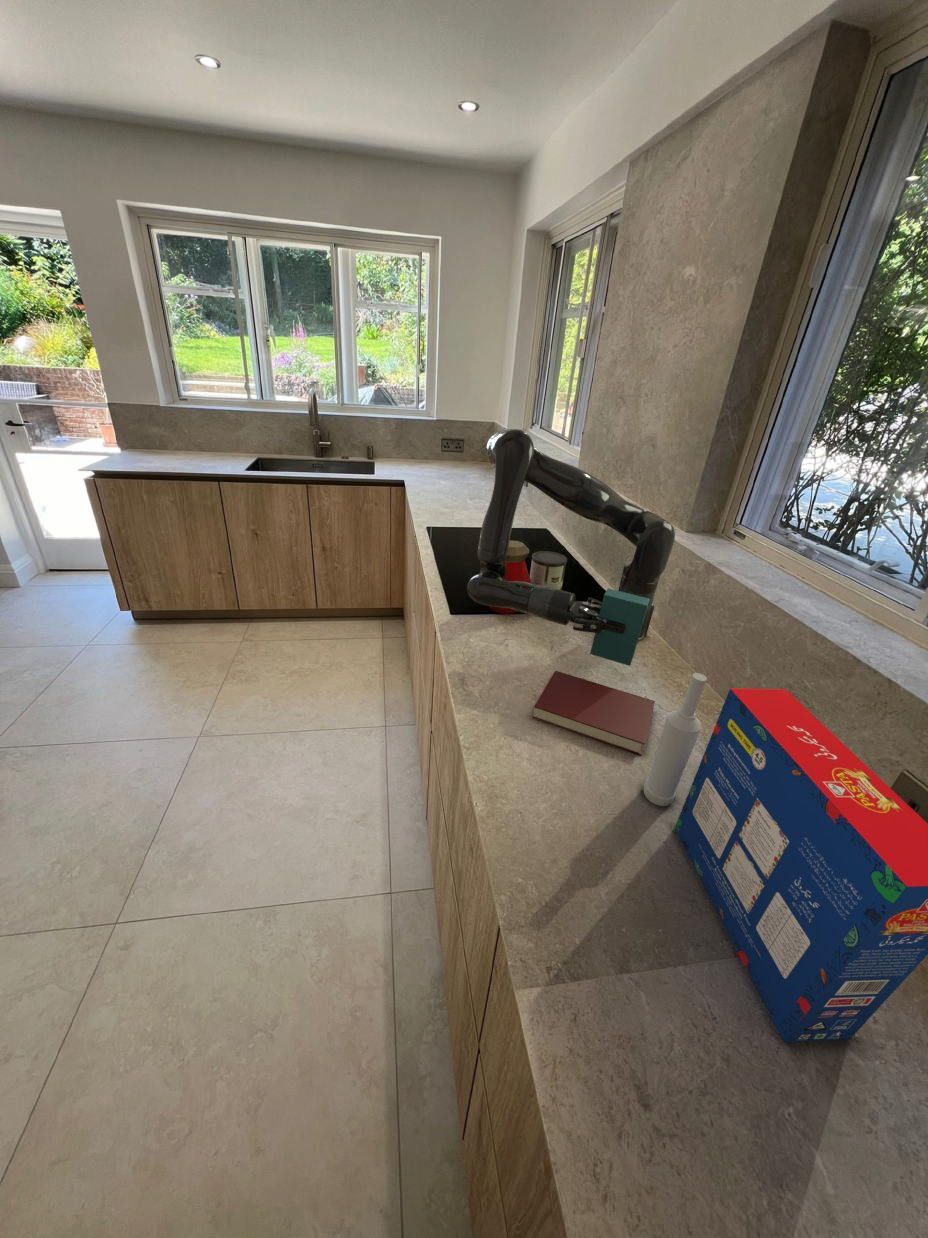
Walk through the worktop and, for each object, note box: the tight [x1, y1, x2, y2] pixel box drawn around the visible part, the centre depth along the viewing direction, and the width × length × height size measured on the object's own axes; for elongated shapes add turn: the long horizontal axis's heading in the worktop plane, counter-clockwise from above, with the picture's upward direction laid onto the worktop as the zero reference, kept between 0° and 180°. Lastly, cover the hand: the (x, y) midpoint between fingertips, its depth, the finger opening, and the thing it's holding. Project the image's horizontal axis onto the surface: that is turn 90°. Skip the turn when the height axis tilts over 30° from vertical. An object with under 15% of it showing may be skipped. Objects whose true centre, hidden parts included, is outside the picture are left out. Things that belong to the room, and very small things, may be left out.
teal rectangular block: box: [589, 588, 650, 667], centre depth 108 cm, size 9×4×15 cm, turn 64°
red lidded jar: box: [488, 540, 531, 615], centre depth 141 cm, size 16×14×20 cm
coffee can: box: [529, 550, 568, 590], centre depth 149 cm, size 10×10×14 cm
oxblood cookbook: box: [532, 670, 656, 756], centre depth 103 cm, size 22×15×3 cm
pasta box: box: [674, 687, 928, 1043], centre depth 61 cm, size 28×8×28 cm, turn 4°
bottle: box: [643, 672, 708, 807], centre depth 80 cm, size 5×5×25 cm
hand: (626, 624), depth 108 cm, fingers closed on teal rectangular block, 4 cm apart
